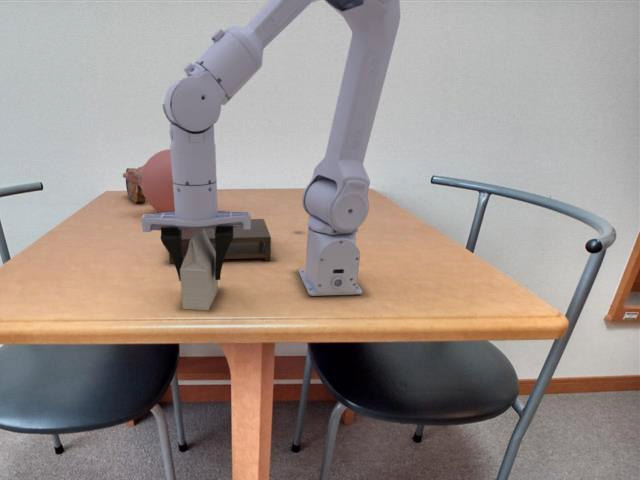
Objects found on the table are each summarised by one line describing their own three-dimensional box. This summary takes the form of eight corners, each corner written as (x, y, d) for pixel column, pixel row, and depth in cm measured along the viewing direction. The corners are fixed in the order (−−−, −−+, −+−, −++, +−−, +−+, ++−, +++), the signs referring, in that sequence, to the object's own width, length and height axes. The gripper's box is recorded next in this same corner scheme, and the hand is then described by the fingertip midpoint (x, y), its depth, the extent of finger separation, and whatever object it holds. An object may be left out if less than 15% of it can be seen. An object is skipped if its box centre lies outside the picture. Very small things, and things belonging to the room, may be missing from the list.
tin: (126, 195, 128) (122, 166, 125) (136, 194, 129) (133, 165, 126) (137, 206, 116) (134, 173, 112) (149, 204, 117) (146, 173, 113)
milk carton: (218, 290, 66) (215, 227, 62) (208, 310, 60) (205, 241, 56) (194, 289, 67) (190, 226, 63) (182, 308, 61) (177, 240, 57)
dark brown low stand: (270, 260, 78) (270, 236, 76) (169, 263, 77) (167, 239, 75) (263, 240, 88) (263, 218, 87) (175, 242, 88) (173, 220, 86)
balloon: (138, 205, 116) (132, 145, 110) (211, 207, 114) (209, 145, 107) (116, 221, 103) (107, 153, 96) (199, 223, 100) (195, 154, 93)
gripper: (248, 175, 60) (248, 266, 66) (143, 177, 60) (152, 268, 65) (252, 185, 54) (251, 284, 60) (134, 187, 53) (146, 288, 59)
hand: (200, 277), depth 62 cm, fingers open, 4 cm apart
